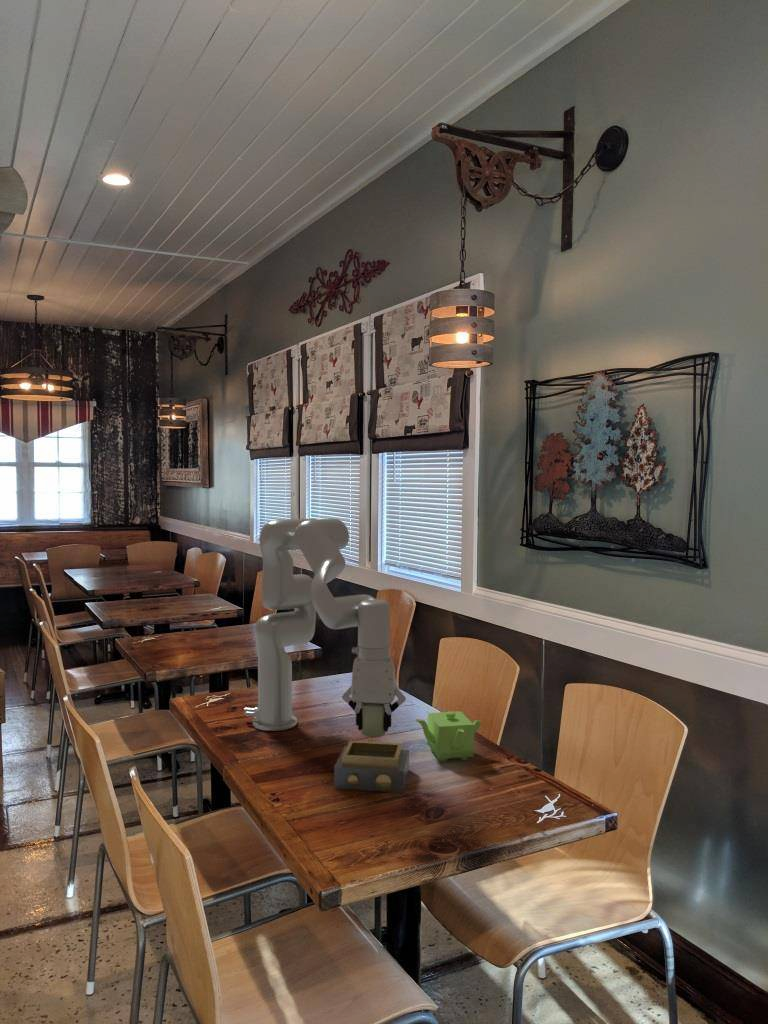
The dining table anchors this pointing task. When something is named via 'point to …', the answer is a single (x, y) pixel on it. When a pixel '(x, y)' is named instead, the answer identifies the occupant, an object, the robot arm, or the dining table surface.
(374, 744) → the toy stove
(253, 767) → the dining table surface
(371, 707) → the pale green cup
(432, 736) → the kettle
